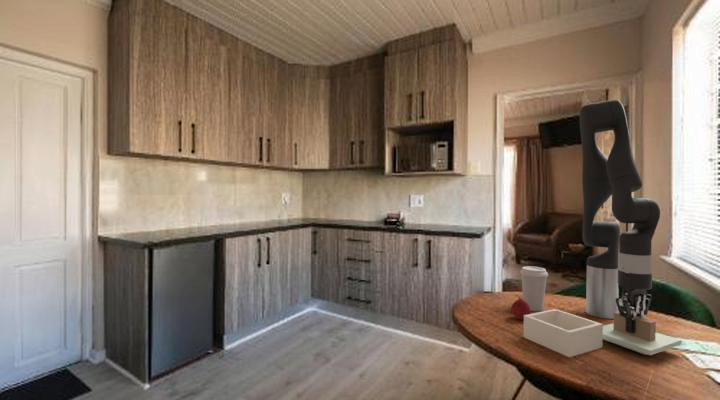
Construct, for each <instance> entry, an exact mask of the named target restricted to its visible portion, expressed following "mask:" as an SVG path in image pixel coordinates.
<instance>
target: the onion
mask: <svg viewBox="0 0 720 400" xmlns="http://www.w3.org/2000/svg"><path fill="white" fill-rule="evenodd" d="M511 313H512V314H513V316H514V317H515V318H516V319H517V320H520V321H524V315H528V314H531V310H530V306H529V305H528V303H527V302H526V301H524V300H523V296H520V297H519V298H518V299H516V300H515V301H514V302H513V303H512V305H511Z"/></svg>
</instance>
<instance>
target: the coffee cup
mask: <svg viewBox="0 0 720 400" xmlns="http://www.w3.org/2000/svg"><path fill="white" fill-rule="evenodd" d="M519 274H520V276H521V278H520V279H521V286H522V298H523V300H524V301H526V302H527V303H528V305H529V306H530V312H531V311H532V312H543V311H544V305H545V304H544V303H545V294H546V288H547V277H549V273H548V272H547V270H546V268H544V267H541V266H540V267H539V266H535V265H533V266H532V265H530V266H529V265H527V266H522V268H521V269H520V271H519Z"/></svg>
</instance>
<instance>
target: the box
mask: <svg viewBox="0 0 720 400" xmlns="http://www.w3.org/2000/svg"><path fill="white" fill-rule="evenodd" d="M603 326H604V324H603V323H600V322H597V321H595V320H591V319H588V318H585V317H581V316H579V315H575V314H572V313H569V312H567V311H566V312H565V311H564V310H560V309H556V308H554V309H549V310H542V311H537V312H533V313H530V314H528V315H524V320H523V338H525V339H527V340H529V341H532V342H533V343H536V344H538V345H541V346H543V347H545V348H548V349H550V350H551V351H554V352H556V353H559V354H561V355H563V356H565V357H568V358H572V357H577V356H578V355H582V354H586V353H589V352H591V351H596V350H598V349H602V348H603V341H604V340H603Z"/></svg>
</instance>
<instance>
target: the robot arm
mask: <svg viewBox="0 0 720 400" xmlns="http://www.w3.org/2000/svg"><path fill="white" fill-rule="evenodd" d="M579 131H580V140H581V151H582V169H581V170H582V171H581V172H582V173H581V175H582V176H581V177H582V178H581V179H582V197H583V199H582V200H583V211H582V213H583V216H582V217H583V218H582V231H581V232H582V236H581V237H582V241H583V243H584V245H585V246H587V247H594V248H595V247H596V248H605V249H606V248H607V250H606V251H604V252H602V253H598V254H595V255H590V256H588V257H587V259H586V290H585V291H586V296H585V297H586V299H585V300H586V301H585V303H586V305H585V312H586V314H587V315H590V316H592V317H596V318H600V319H607V320H608V319H609V320H614V312H618V311H619V314H620V316H621V317H624V318H625V319H626V321H625V330H626V332H629V333H632V334H634V333H635V332H636V316H638V317H642V318H645V316H647V315H648V313H649V310H650V305H651V304H652V303H651V302H652V299H653V295H652V294H648V293H647V291H648V290H651V289H652V288H653V260H652V259H653V258H652V241H653V239H654V238H653V237H654V235H655V232H656V229H657V227H658V224H659V221H660V217H661V209H660V206H659V204H658V203H657V202H656V201H655V200H654V199H652V198H647V197H637V198H636V197H633V196H632V193H634V192H637V191H639V190H640V189H642V187H643V181H642V178H641V175H640V173H639V170H638V167H637V163H636V161H635V157H634V154H633V148H632V143H631V137H630V135H631V134H630V130H629V125H628V121H627V114H626V111H625V108H624V106H623V103H622V102H621V101H620V100H619V99H609V100H604V101H599V102H593V103H588V104H585V105H582V107H581V108H580V111H579ZM608 131H613V135H614V141H613V144H612V145H613V146H612V147H611V150H610V151H609V154H608V156H606V155H605V154H604V153H603V151H602V150H601V149H600V147H599V146H598V144H597V139H596V134H597V133H602V132H608ZM610 197H611V213H612V215H613V217H614V218H615V219H616V220H617V221H618V222H616V221H607V220H606V221H605V220H604V221H603V220H594V219H595V217H596V215H597V213H598V211H599V210H600V209H601V208H602V206H603V205H604V204H605V203H606V202H607V201H608V200H609V199H610ZM619 223H622V224H633V226H632V228H631V229H630V230H628V231H624V232H622V233H621V228H620V224H619ZM619 286H620V287H621V288H622V292H621V297H620V295H619V293H620V292H619V291H620V290H619ZM619 297H620V298H619Z"/></svg>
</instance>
